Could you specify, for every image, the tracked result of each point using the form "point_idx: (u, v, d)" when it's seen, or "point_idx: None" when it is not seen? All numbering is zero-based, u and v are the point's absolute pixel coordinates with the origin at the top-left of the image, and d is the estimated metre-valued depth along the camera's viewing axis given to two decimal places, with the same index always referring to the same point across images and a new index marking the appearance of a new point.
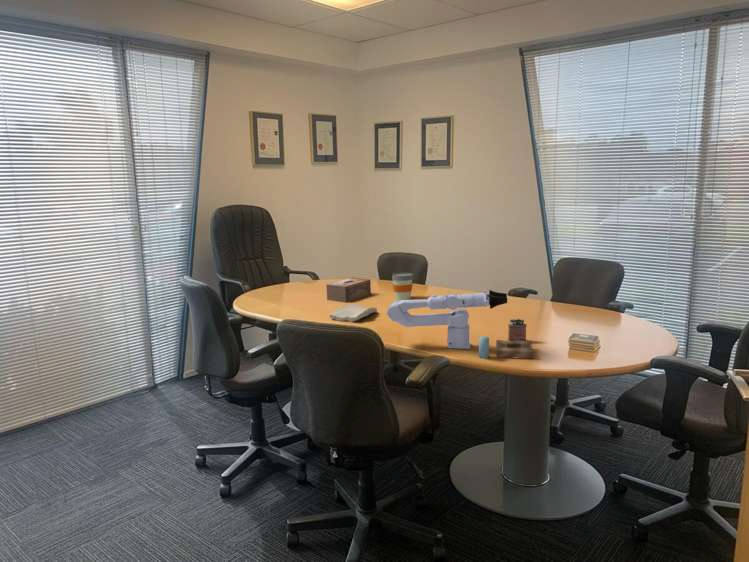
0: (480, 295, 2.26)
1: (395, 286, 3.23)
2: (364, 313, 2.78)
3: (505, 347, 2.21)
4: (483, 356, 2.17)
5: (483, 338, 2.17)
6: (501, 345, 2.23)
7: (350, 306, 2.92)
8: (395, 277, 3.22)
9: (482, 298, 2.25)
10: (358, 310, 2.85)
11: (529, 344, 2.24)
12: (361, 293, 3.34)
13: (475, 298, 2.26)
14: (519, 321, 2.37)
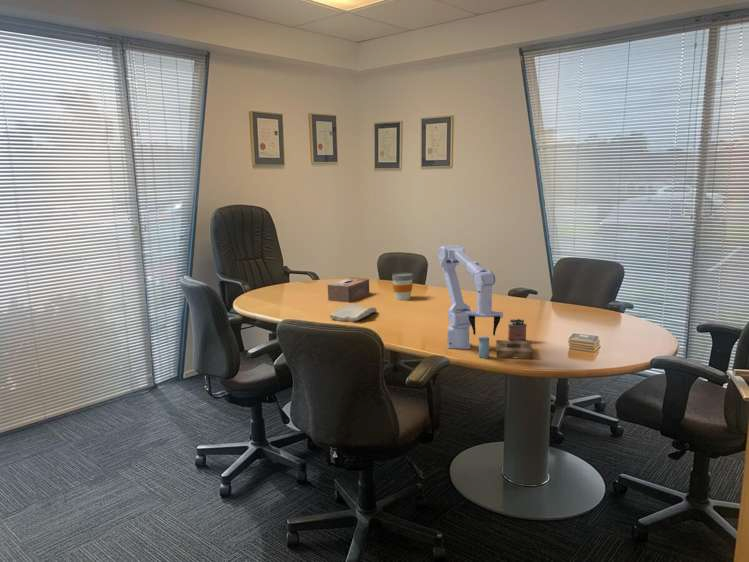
0: (480, 309, 2.14)
1: (395, 286, 3.23)
2: (365, 313, 2.78)
3: (505, 347, 2.21)
4: (483, 356, 2.17)
5: (483, 338, 2.17)
6: (501, 345, 2.23)
7: (350, 306, 2.92)
8: (395, 277, 3.22)
9: (477, 310, 2.15)
10: (358, 310, 2.85)
11: (529, 344, 2.24)
12: (361, 292, 3.35)
13: (478, 304, 2.14)
14: (519, 321, 2.37)
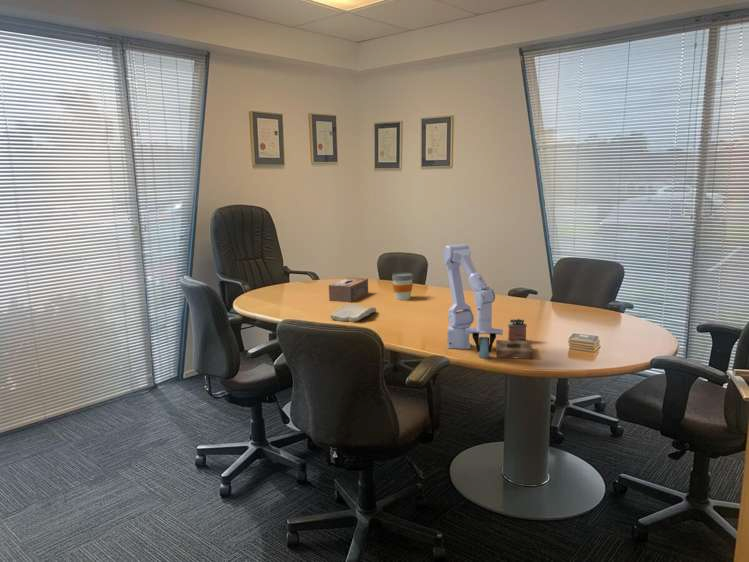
0: (479, 327, 2.15)
1: (395, 286, 3.23)
2: (365, 313, 2.79)
3: (505, 347, 2.21)
4: (483, 356, 2.17)
5: (483, 338, 2.17)
6: (501, 345, 2.23)
7: (350, 306, 2.92)
8: (395, 277, 3.22)
9: (477, 328, 2.16)
10: (358, 310, 2.85)
11: (529, 344, 2.24)
12: (361, 292, 3.36)
13: (477, 321, 2.16)
14: (519, 321, 2.37)
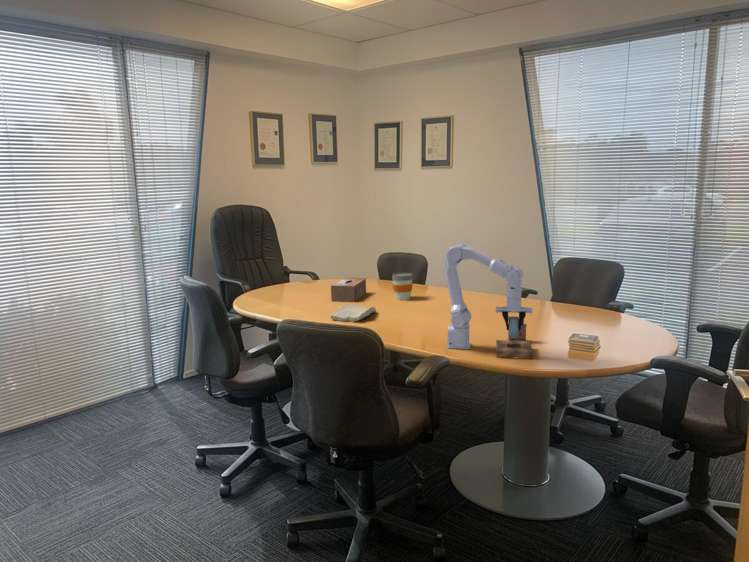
0: (509, 305, 2.17)
1: (395, 286, 3.23)
2: (366, 313, 2.79)
3: (505, 347, 2.21)
4: (512, 335, 2.19)
5: (512, 318, 2.19)
6: (501, 345, 2.23)
7: (349, 306, 2.91)
8: (395, 277, 3.22)
9: (507, 306, 2.19)
10: (359, 310, 2.85)
11: (529, 344, 2.24)
12: (361, 292, 3.37)
13: (507, 299, 2.18)
14: None
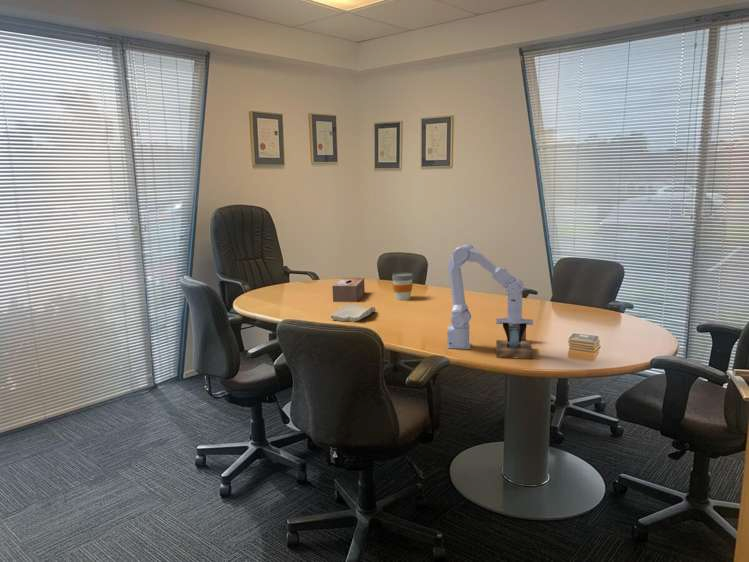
0: (510, 317, 2.19)
1: (395, 286, 3.23)
2: (366, 313, 2.79)
3: (505, 347, 2.21)
4: (513, 347, 2.21)
5: (513, 329, 2.21)
6: (501, 345, 2.23)
7: (349, 306, 2.91)
8: (395, 277, 3.22)
9: (508, 318, 2.20)
10: (359, 310, 2.85)
11: (529, 344, 2.24)
12: (361, 292, 3.38)
13: (508, 311, 2.19)
14: None
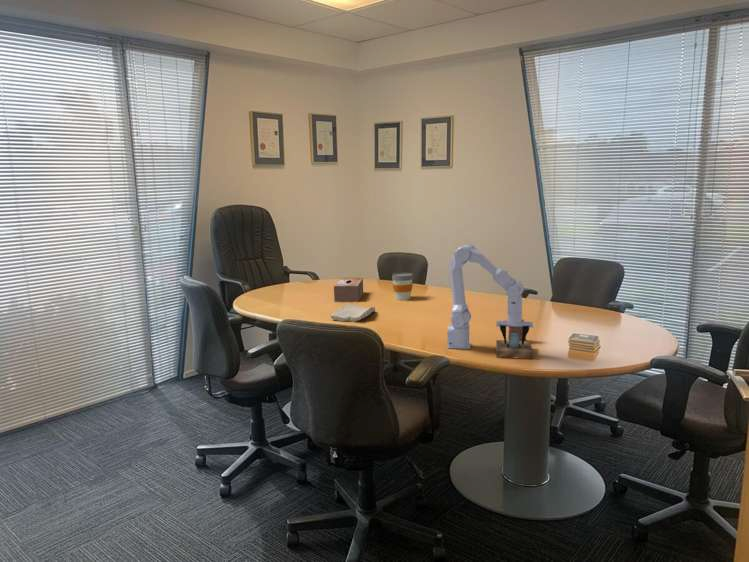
0: (510, 319, 2.19)
1: (395, 286, 3.23)
2: (366, 313, 2.79)
3: (505, 347, 2.21)
4: None
5: (513, 334, 2.21)
6: (501, 345, 2.23)
7: (349, 306, 2.91)
8: (395, 277, 3.22)
9: (508, 320, 2.20)
10: (359, 310, 2.85)
11: (529, 344, 2.24)
12: (361, 291, 3.38)
13: (508, 314, 2.19)
14: None
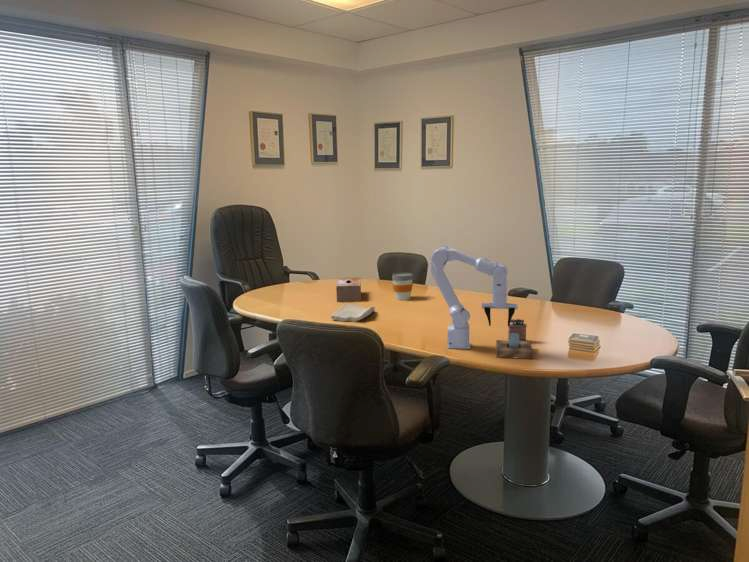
0: (495, 301, 2.23)
1: (395, 286, 3.23)
2: (367, 312, 2.79)
3: (505, 347, 2.21)
4: None
5: (513, 334, 2.21)
6: (501, 345, 2.23)
7: (349, 306, 2.91)
8: (395, 277, 3.22)
9: (493, 302, 2.24)
10: (359, 310, 2.86)
11: (529, 344, 2.24)
12: None
13: (493, 296, 2.23)
14: (519, 321, 2.37)
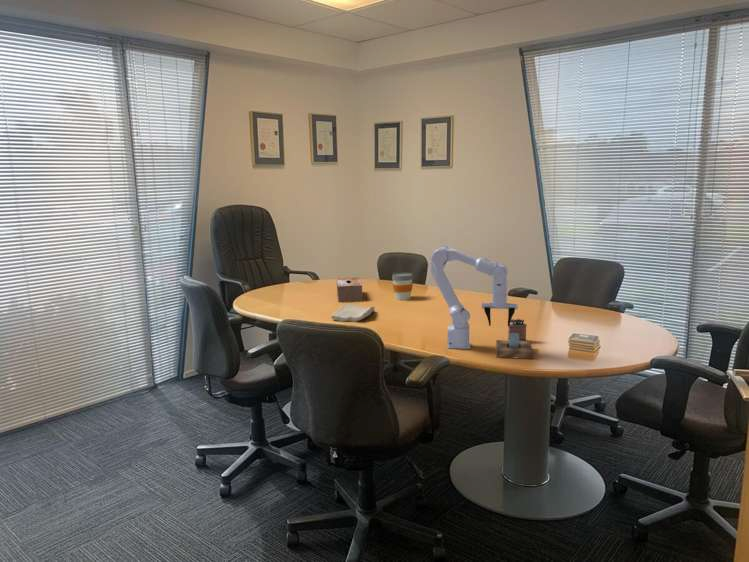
0: (495, 301, 2.23)
1: (395, 286, 3.23)
2: (367, 312, 2.79)
3: (505, 347, 2.21)
4: None
5: (513, 334, 2.21)
6: (501, 345, 2.23)
7: (349, 306, 2.91)
8: (395, 277, 3.22)
9: (493, 302, 2.24)
10: (359, 310, 2.86)
11: (529, 344, 2.24)
12: None
13: (493, 296, 2.23)
14: (519, 321, 2.37)
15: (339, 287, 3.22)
